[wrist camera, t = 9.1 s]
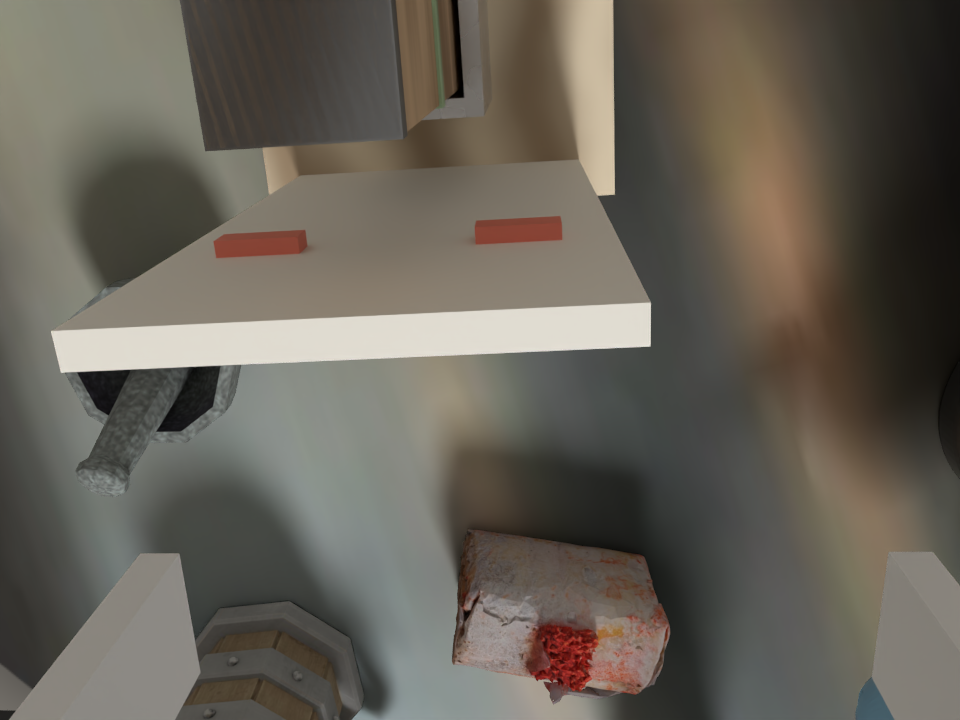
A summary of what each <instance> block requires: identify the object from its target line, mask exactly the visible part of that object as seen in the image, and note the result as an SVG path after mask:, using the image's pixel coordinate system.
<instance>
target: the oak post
mask: <svg viewBox="0 0 960 720" xmlns="http://www.w3.org/2000/svg"><path fill="white" fill-rule="evenodd" d="M180 3H181V9H182V15H183V21H184V27H185V33H186V39H187V45H188V51H189V57H190V63H191V69H192V75H193V81H194V87H195V93H196V99H197V105H198V110H199V116H200V122H201V128H202V134H203V140H204V146H205V151H217V150H233V149H250V148H267V147H283V146H300V145H317V144H333V143H350V142H367V141H383V140H400V139H404V138H405V137H407V136H408V133H407V132H408V131H409V130H410V129H411V128H413V127H414V126H415V125H416V124H417V123H419V122H420V121H421V120H422V119H423V118H425V117H426V116H427V115H428V114H430V113H431V112H432V111H433V110H434V109H440V108H444V107H445V100H446V99H448V98H449V97H450V96H451V95H452V94H454V93H455V92H456V91H457V90H459V89H460V88H461V87H462V86H463V70H462V55H461V39H460V24H459V9H458V0H180Z"/></svg>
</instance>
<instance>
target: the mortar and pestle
mask: <svg viewBox="0 0 960 720" xmlns="http://www.w3.org/2000/svg"><path fill="white" fill-rule="evenodd" d="M134 279H135V278H129V279H124V280H120V281H116V282H114V283H113V284H111V285H109V286H108V287H106V288H105V289H103V290H102V291H101V292H100V293H99V294H98V295H97V296H95V297H94V298H93V299H92V300H91V301H90V302H88V303H87V304H86V305H85V306H84V307H83V308H81V309H80V310H79V311H78V312H77V313H76V314H75V315H73V316H72V317H71V318H73V317H74V316H76V315H78V314H79V313H81V312H82V311H84V310H86V309H87V308H89V307H90V306H92V305H94V304H95V303H97V302H98V301H100V300H102V299H103V298H105V297H106V296H108V295H110V294H111V293H113V292H114V291H116V290H118V289H119V288H121V287H122V286H124V285H126V284H127V283H129V282H130V281H132V280H134ZM71 318H70V319H71ZM240 368H241V365H221V366H198V367H176V368H153V369H131V370H108V371H86V372H65V374H66V376H67V378H68V380H69V381H70V383H71V385H72V387H73V389H74V390H75V392H76V394H77V396H78V398H79V399H80V401H81V403H82V405H83V407H84V408H85V410H86V412H87V414H88V415H89V416H90V417H92V418H94V419H95V420H97V421H99V422H101V423H102V424H104V427H103V429H102V431H101V433H100V435H99V437H98V439H97V441H96V443H95V445H94V447H93V450H92V452H91V454H90V456H89V458H87V459H86V460H84V461H82V462H80V463H79V465H78V467H77V469H76V476H77V479H78V481H79V482H80V483H81V484H82V485H83V486H84V487H86V488H87V489H88V490H90V491H92V492H94V493H97V494H99V495H103V496H112V497H117V496H119V495H121V494H123V493H125V492H126V491H127V489H128V487H129V485H130V478H129V475H130V473H131V472H132V470H133V468H134V467H135V465H136V464H137V462H138V460H139V459H140V457H141V455H142V454H143V452H144V451H145V449H146V447H147V446H148V444H149V443H163V442H187V441H189V440H190V439H191V438H193V437H194V436H195V435H197V434H198V433H199V432H200V431H202V430H203V429H204V428H206V427H207V426H208V425H210V424H211V423H212V422H213V421H215V420H216V419H217V418H219V417H220V416H221V415H222V414H224V413H225V411H226V410H227V409H228V408H229V406H230V405H231V403H232V401H233V398H234V395H235V393H236V388H237V383H238V378H239V373H240Z"/></svg>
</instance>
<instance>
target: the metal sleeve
mask: <svg viewBox="0 0 960 720" xmlns="http://www.w3.org/2000/svg"><path fill="white" fill-rule="evenodd" d="M458 9H459V24H460V39H461V55H462V70H463V86H462V87H461V88H460V89H459V90H457V91H456V92H455V93H454V94H452V95H451V96H450V97H449V98H448V99H446V100H445V107H444V108H440V109H434V110H433V111H432V112H431V113H430V114H428V115H427V116H426V117H425V118H423V119H422V120H432V119H448V118H465V117H481V116H485V114H486V112H487V109H488V107H489V105H490V103H491V100H492V82H491V64H490V46H489V27H488V9H487V0H458Z"/></svg>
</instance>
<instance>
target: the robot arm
mask: <svg viewBox="0 0 960 720" xmlns="http://www.w3.org/2000/svg"><path fill="white" fill-rule="evenodd" d="M939 431H940V439H941V444H942V448H943V451H944V454H945V456H946V458H947V461H948V463H949V465H950V466H951V468H952V470H953V471H954V472H955V474H956V475H957V476H958V478H959V479H960V361H959V362H958V364H957V365H956V367H955V369H954V371H953V372H952V374H951V376H950V378H949V381H948V383H947V385H946V388H945V391H944V394H943V398H942V402H941V407H940V415H939ZM200 673H201V672H200V666H199V661H198V655H197V650H196V644H195V638H194V633H193V627H192V621H191V616H190V610H189V605H188V599H187V593H186V588H185V582H184V576H183V571H182V565H181V560H180V554H179V553H140V555H139V556H138V557H137V558H136V560H135V561H134V562H133V563H132V565H131V566H130V567H129V569H128V570H127V571H126V572H125V574H124V575H123V576H122V577H121V579H120V580H119V581H118V582H117V584H116V585H115V586H114V588H113V589H112V590H111V591H110V593H109V594H108V595H107V596H106V598H105V599H104V600H103V601H102V603H101V604H100V605H99V606H98V608H97V609H96V610H95V612H94V613H93V614H92V615H91V617H90V618H89V619H88V620H87V622H86V623H85V624H84V625H83V627H82V628H81V629H80V631H79V632H78V633H77V634H76V636H75V637H74V638H73V639H72V641H71V642H70V643H69V644H68V646H67V647H66V648H65V649H64V651H63V652H62V653H61V655H60V656H59V657H58V658H57V660H56V661H55V662H54V663H53V665H52V666H51V667H50V668H49V670H48V671H47V672H46V673H45V675H44V676H43V677H42V679H41V680H40V681H39V682H38V684H37V685H36V686H35V687H34V689H33V690H32V691H31V692H30V694H29V695H28V696H27V698H26V699H25V700H24V701H23V703H22V704H21V705H20V706H19V708H18V709H17V710H16V711H1V710H0V720H175V719H176V717H177V715H178V713H179V711H180V710H181V708H182V706H183V704H184V702H185V700H186V698H187V697H188V695H189V693H190V691H191V689H192V687H193V686H194V684H195V682H196V680H197V678H198V676H199V674H200ZM856 720H960V585H959V584H958V583H957V582H956V580H955V579H954V578H953V577H952V575H951V574H950V573H949V572H948V570H947V569H946V568H945V567H944V565H943V564H942V563H941V562H940V560H939V559H938V558H937V557H936V555H935V554H934V553H933V552H889V553H888V561H887V568H886V575H885V583H884V590H883V598H882V605H881V613H880V620H879V628H878V635H877V643H876V650H875V658H874V665H873V673H872V677H871V678H870V679H869V680H868V681H867V682H866V683H865V685H864V686H863V688H862V689H861V691H860V693H859V699H858V706H857V708H856Z"/></svg>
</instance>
